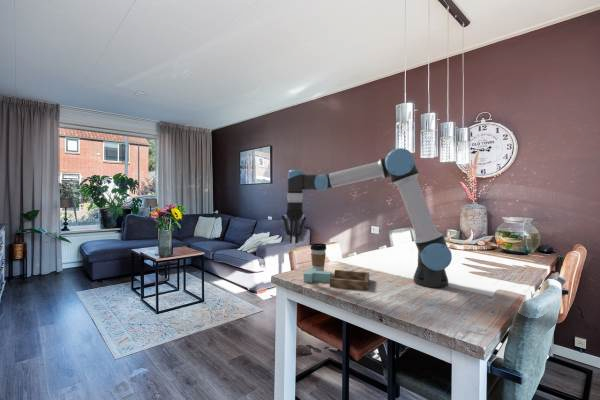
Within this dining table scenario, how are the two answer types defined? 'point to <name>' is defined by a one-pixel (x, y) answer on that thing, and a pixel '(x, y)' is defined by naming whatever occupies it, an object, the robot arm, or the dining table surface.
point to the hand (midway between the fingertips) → (294, 249)
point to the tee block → (316, 276)
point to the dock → (350, 283)
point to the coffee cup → (318, 256)
